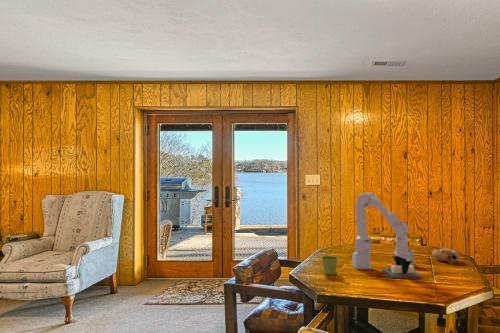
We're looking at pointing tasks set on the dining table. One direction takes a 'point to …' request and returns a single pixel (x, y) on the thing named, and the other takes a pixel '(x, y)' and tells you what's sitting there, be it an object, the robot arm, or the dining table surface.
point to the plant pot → (329, 264)
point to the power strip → (398, 269)
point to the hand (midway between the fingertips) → (402, 271)
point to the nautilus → (446, 255)
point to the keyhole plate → (401, 274)
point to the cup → (411, 256)
